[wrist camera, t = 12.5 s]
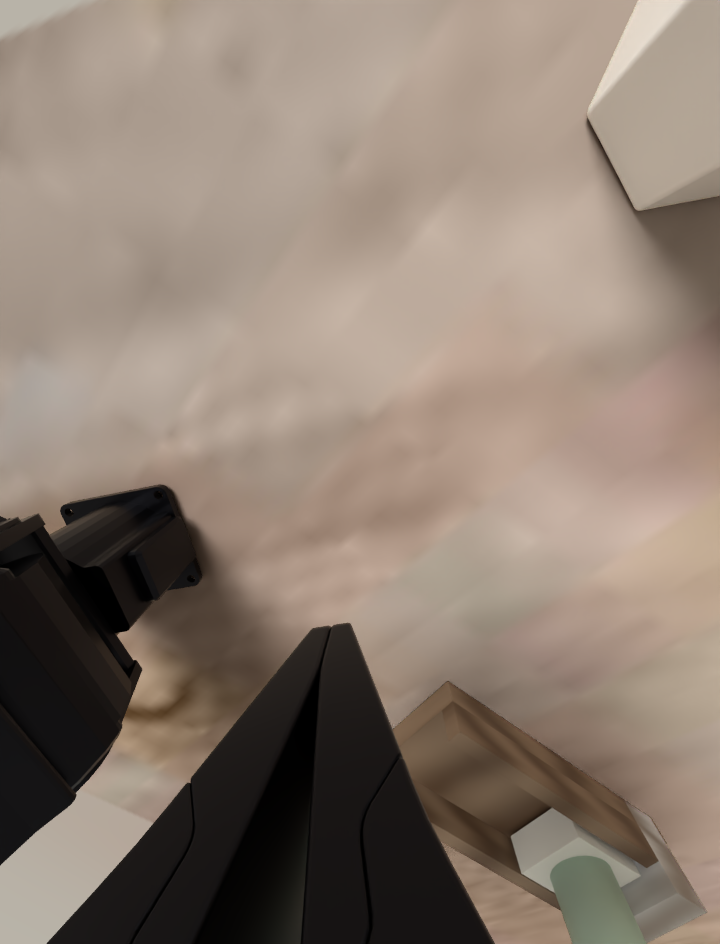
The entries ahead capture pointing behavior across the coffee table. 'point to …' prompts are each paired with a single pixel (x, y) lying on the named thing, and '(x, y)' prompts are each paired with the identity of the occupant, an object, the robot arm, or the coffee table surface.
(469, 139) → the coffee table surface
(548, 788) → the brown wooden open box
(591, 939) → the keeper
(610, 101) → the jar
